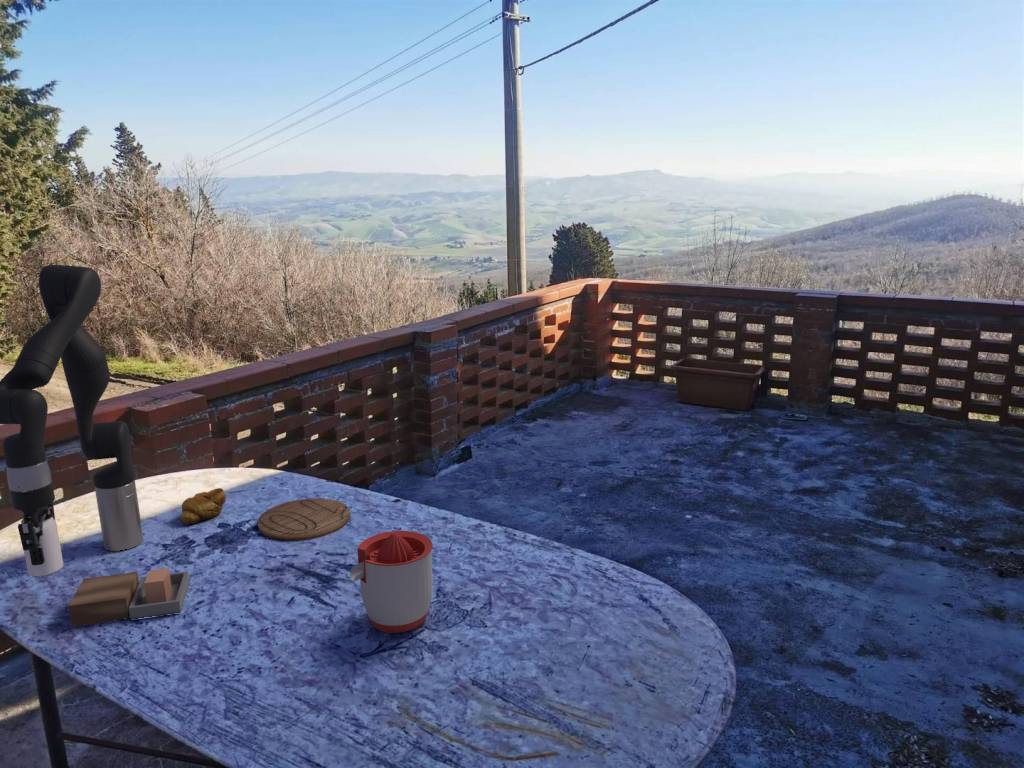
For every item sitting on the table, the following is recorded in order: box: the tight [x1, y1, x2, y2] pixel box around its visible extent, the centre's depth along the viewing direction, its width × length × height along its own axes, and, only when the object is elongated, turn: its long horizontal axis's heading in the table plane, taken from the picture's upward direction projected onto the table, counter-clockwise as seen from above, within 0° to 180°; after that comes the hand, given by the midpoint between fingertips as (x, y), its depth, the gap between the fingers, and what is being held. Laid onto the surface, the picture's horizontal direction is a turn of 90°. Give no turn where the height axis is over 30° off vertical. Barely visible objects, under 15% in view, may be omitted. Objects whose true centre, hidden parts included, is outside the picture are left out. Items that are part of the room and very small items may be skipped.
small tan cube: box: [144, 567, 172, 604], centre depth 164 cm, size 6×6×4 cm
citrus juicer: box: [349, 530, 434, 634], centre depth 154 cm, size 16×17×20 cm
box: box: [129, 570, 191, 620], centre depth 165 cm, size 14×10×3 cm
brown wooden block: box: [67, 571, 140, 628], centre depth 161 cm, size 12×11×5 cm
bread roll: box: [180, 487, 227, 525], centre depth 208 cm, size 13×10×8 cm
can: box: [20, 514, 64, 578], centre depth 155 cm, size 6×6×12 cm
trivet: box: [257, 497, 351, 542], centre depth 206 cm, size 25×25×2 cm
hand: (43, 556), depth 156 cm, fingers closed on can, 6 cm apart
